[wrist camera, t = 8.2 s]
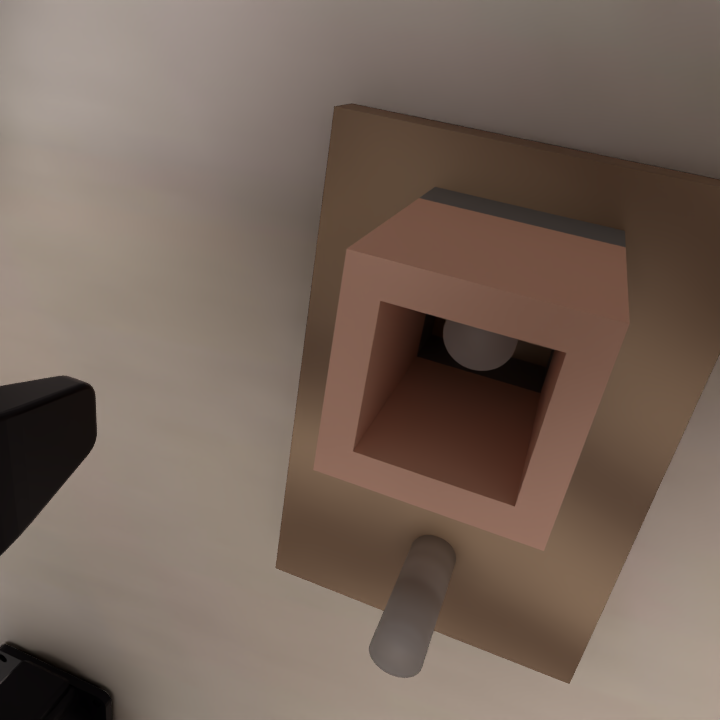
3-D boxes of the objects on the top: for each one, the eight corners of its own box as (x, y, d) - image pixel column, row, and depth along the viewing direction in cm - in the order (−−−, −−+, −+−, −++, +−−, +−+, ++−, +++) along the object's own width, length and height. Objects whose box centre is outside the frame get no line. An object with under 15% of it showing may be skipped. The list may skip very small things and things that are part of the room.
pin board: (571, 653, 21) (559, 811, 17) (290, 545, 24) (214, 659, 19) (776, 191, 14) (848, 250, 10) (351, 103, 17) (255, 119, 12)
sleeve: (625, 231, 15) (630, 323, 9) (566, 399, 17) (544, 550, 12) (435, 186, 16) (346, 248, 11) (401, 350, 18) (313, 469, 13)
